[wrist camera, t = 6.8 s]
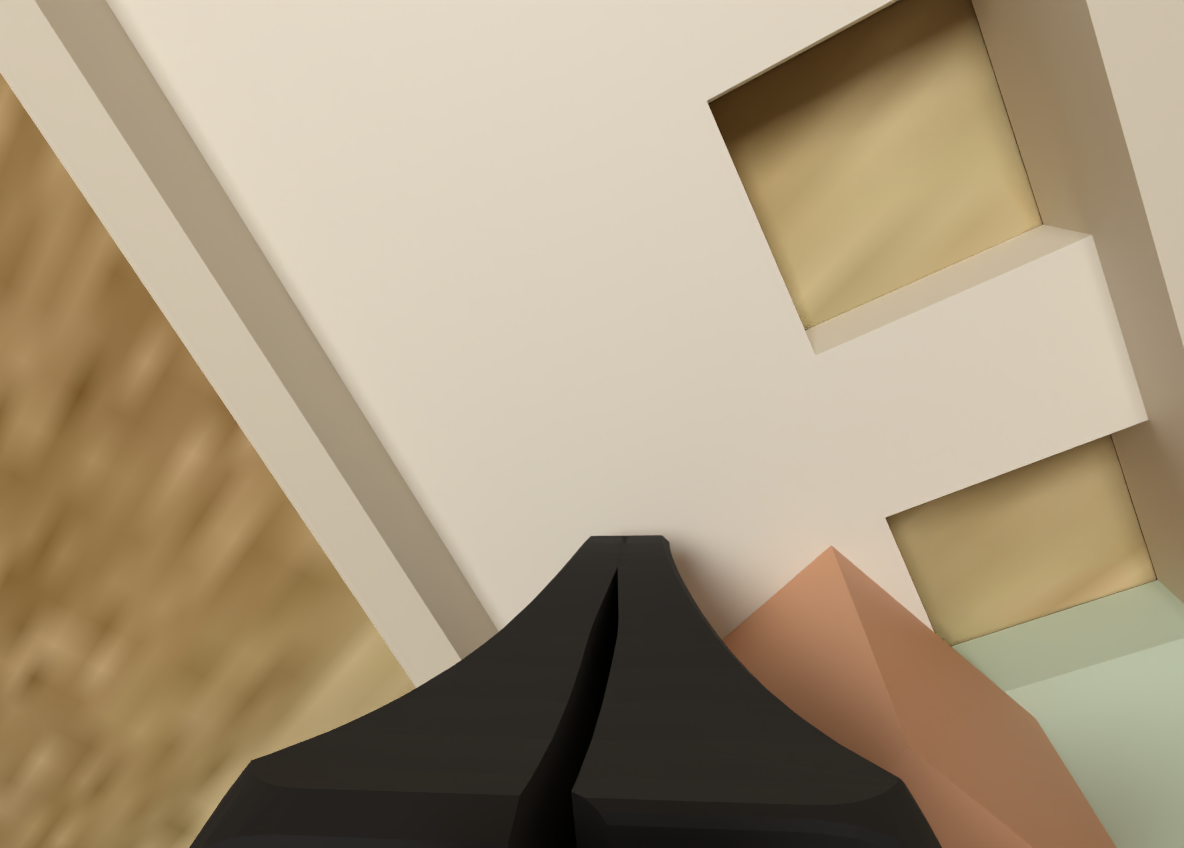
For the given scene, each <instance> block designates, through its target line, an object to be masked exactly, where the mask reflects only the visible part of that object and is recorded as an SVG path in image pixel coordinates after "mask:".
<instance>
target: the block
mask: <svg viewBox="0 0 1184 848" xmlns="http://www.w3.org/2000/svg"><path fill="white" fill-rule="evenodd" d="M722 641H723V642H724V643H725V645H726V646H727V647H728V648H729V649H730V651H731V652H732V653H733V654H734V655H735V656H736V657H737V659H738V660H739V661H740V662H741V663H742V664H743V665H744V666H745V667H746V668H747V670H748V671H749V672H750V673H751V674H752V675H753V676H754V677H755V678H756V679H757V680H758V681H759V682H760V683H761V684H762V685H763V686H764V687H765V688H766V689H768V690H769V691H770V692H771V693H772V694H774V695H775V696H776V697H777V698H778V699H779V700H781V701H782V702H783V703H784V704H785V705H787V706H788V707H789V708H790V709H791V710H793V711H794V712H795V713H796V714H797V715H799V716H800V717H801V718H803V719H804V720H806V721H807V722H808V723H810V724H811V725H813V726H814V727H816V728H817V729H818V730H820V731H821V732H823V733H824V734H826V735H827V736H829V737H830V738H831V739H833V740H834V741H836V742H838V743H839V744H841V745H842V746H844V747H846V748H848V749H849V750H851V751H853V752H855V753H856V754H858V755H860V756H862V757H863V758H865V759H867V760H869V761H870V762H872V763H874V764H876V765H877V766H879V767H881V768H883V769H885V770H886V771H888V772H890V773H892V774H893V775H895V776H897V777H899V778H900V779H901V780H902V781H903V782H904V783H905V784H906V786H907V788H908V789H909V791H910V793H911V794H912V796H913V797H914V799H915V801H916V802H917V804H918V806H919V807H920V809H921V811H922V812H923V814H924V816H925V818H926V819H927V821H928V823H929V824H930V826H931V828H932V830H933V832H934V834H935V836H936V837H937V839H938V841H939V843H940V845H941V847H942V848H1117V847H1116V846H1115V844H1114V842H1113V841H1112V839H1111V838H1110V836H1109V835H1108V833H1107V831H1106V830H1105V828H1104V827H1103V825H1102V823H1101V822H1100V820H1099V819H1098V817H1097V815H1096V814H1095V812H1094V811H1093V809H1092V807H1091V806H1090V804H1089V803H1088V801H1087V799H1086V798H1085V796H1084V795H1083V793H1082V791H1081V790H1080V788H1079V787H1078V785H1077V783H1076V782H1075V780H1074V779H1073V777H1072V775H1071V774H1070V772H1069V771H1068V769H1067V767H1066V766H1065V764H1064V763H1063V761H1062V760H1061V758H1060V756H1059V755H1058V753H1057V752H1056V750H1055V748H1054V747H1053V745H1052V744H1051V742H1050V740H1049V739H1048V737H1047V736H1046V734H1045V732H1044V731H1043V729H1042V728H1041V726H1040V724H1039V723H1038V721H1037V720H1036V718H1035V717H1034V716H1032V715H1031V714H1030V713H1029V712H1028V711H1026V710H1025V709H1024V708H1023V707H1022V706H1021V705H1019V704H1018V703H1017V702H1016V701H1015V700H1013V699H1012V698H1011V697H1010V696H1009V695H1008V694H1006V693H1005V692H1004V691H1003V690H1002V689H1000V688H999V687H998V686H997V685H996V684H995V683H993V682H992V681H991V680H990V679H989V678H987V677H986V676H985V675H984V674H983V673H982V672H980V671H979V670H978V669H977V668H976V667H974V666H973V665H972V664H971V663H970V662H969V661H967V660H966V659H965V658H964V657H963V656H961V655H960V654H959V653H958V652H957V651H956V650H954V649H953V648H952V647H951V646H950V645H948V644H947V643H946V642H945V641H944V640H943V639H941V638H940V637H939V636H938V635H937V634H935V633H934V632H933V631H932V630H931V629H930V628H928V627H927V626H926V625H925V624H924V623H922V622H921V621H920V620H919V619H918V618H917V617H915V616H914V615H913V614H912V613H911V612H909V611H908V610H907V609H906V608H905V607H904V606H902V605H901V604H900V603H899V602H898V601H897V600H895V599H894V598H893V597H892V596H891V595H889V594H888V593H887V592H886V591H885V590H884V589H882V588H881V587H880V586H879V585H878V584H876V583H875V582H874V581H873V580H872V579H871V578H869V577H868V576H867V575H866V574H865V573H863V572H862V571H861V570H860V569H859V568H858V567H856V566H855V565H854V564H853V563H852V562H850V561H849V560H848V559H847V558H846V557H845V556H843V555H842V554H841V553H840V552H839V551H837V550H836V549H835V548H834V547H833V546H832V545H831V546H830V547H829V548H827V549H826V550H825V551H824V552H823V553H822V554H821V555H819V556H818V557H817V558H816V559H815V560H814V561H812V562H811V563H810V564H809V565H808V566H807V567H806V568H804V569H803V570H802V571H801V572H800V573H799V574H797V575H796V576H795V577H794V578H793V579H792V580H791V581H789V582H788V583H787V584H786V585H785V586H784V587H783V588H781V589H780V590H779V591H778V592H777V593H776V594H774V595H773V596H772V597H771V598H770V599H769V600H768V601H766V602H765V603H764V604H763V605H762V606H761V607H759V608H758V609H757V610H756V611H755V612H754V613H753V614H751V615H750V616H749V617H748V618H747V619H746V620H744V621H743V622H742V623H741V624H740V625H739V626H738V627H736V628H735V629H734V630H733V631H732V632H731V633H729V634H728V635H727V636H726V637H725V638H724V639H723V640H722Z"/></svg>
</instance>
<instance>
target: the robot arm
mask: <svg viewBox="0 0 1184 848" xmlns="http://www.w3.org/2000/svg"><path fill="white" fill-rule="evenodd" d="M190 848H942V847H941V845H940V843H939V841H938V839H937V837H936V836H935V834H934V832H933V830H932V828H931V826H930V824H929V823H928V821H927V819H926V818H925V816H924V814H923V812H922V811H921V809H920V807H919V806H918V804H917V802H916V801H915V799H914V797H913V796H912V794H911V793H910V791H909V789H908V788H907V786H906V784H905V783H904V782H903V781H902V780H901V779H900V778H899V777H897V776H895V775H893V774H892V773H890V772H888V771H886V770H885V769H883V768H881V767H879V766H877V765H876V764H874V763H872V762H870V761H869V760H867V759H865V758H863V757H862V756H860V755H858V754H856V753H855V752H853V751H851V750H849V749H848V748H846V747H844V746H842V745H841V744H839V743H838V742H836V741H834V740H833V739H831V738H830V737H829V736H827V735H826V734H824V733H823V732H821V731H820V730H818V729H817V728H816V727H814V726H813V725H811V724H810V723H808V722H807V721H806V720H804V719H803V718H801V717H800V716H799V715H797V714H796V713H795V712H794V711H793V710H791V709H790V708H789V707H788V706H787V705H785V704H784V703H783V702H782V701H781V700H779V699H778V698H777V697H776V696H775V695H774V694H772V693H771V692H770V691H769V690H768V689H766V688H765V687H764V686H763V685H762V684H761V683H760V682H759V681H758V680H757V679H756V678H755V677H754V676H753V675H752V674H751V673H750V672H749V671H748V670H747V668H746V667H745V666H744V665H743V664H742V663H741V662H740V661H739V660H738V659H737V657H736V656H735V655H734V654H733V653H732V652H731V651H730V649H729V648H728V647H727V646H726V645H725V643H724V642H723V641H722V639H721V638H720V637H719V636H718V634H717V633H716V632H715V630H714V629H713V627H712V626H711V625H710V623H709V622H708V621H707V619H706V618H705V616H704V615H703V613H702V612H701V610H700V609H699V607H698V606H697V604H696V602H695V600H694V599H693V597H692V595H691V594H690V592H689V590H688V589H687V587H686V585H685V583H684V581H683V579H682V578H681V576H680V573H679V571H678V569H677V567H676V565H675V562H674V560H673V557H672V554H671V550H670V545H669V541H668V540H667V539H666V538H665V537H664V536H662V535H631V536H590V537H589V538H588V539H587V540H586V541H585V542H584V543H583V545H582V546H581V547H580V548H579V549H578V550H577V552H576V553H575V554H574V555H573V556H572V558H571V559H570V560H569V561H568V562H567V563H566V565H565V566H564V567H563V568H562V569H561V570H560V571H559V573H558V574H557V575H556V576H555V577H554V578H553V579H552V580H551V581H550V582H549V583H548V585H547V586H546V587H545V588H544V589H543V590H542V591H541V592H540V593H539V594H538V595H537V596H536V597H535V598H534V599H533V600H532V601H531V602H530V603H529V604H528V605H527V606H526V607H525V608H524V609H523V610H522V611H521V612H520V613H519V614H518V615H517V616H516V617H515V618H513V619H512V620H511V621H510V622H509V623H508V624H507V625H506V626H505V627H504V628H503V629H501V630H500V631H499V632H498V633H497V634H495V635H494V636H493V637H492V638H490V639H489V640H488V641H487V642H485V643H484V644H483V645H481V646H480V647H479V648H477V649H476V650H474V651H473V652H472V653H470V654H469V655H468V656H466V657H465V658H464V659H462V660H461V661H459V662H458V663H456V664H455V665H453V666H452V667H450V668H449V669H447V670H445V671H444V672H442V673H440V674H439V675H437V676H435V677H434V678H432V679H430V680H429V681H427V682H426V683H424V684H422V685H421V686H419V687H417V688H416V689H414V690H412V691H411V692H409V693H407V694H406V695H404V696H402V697H400V698H398V699H396V700H394V701H392V702H390V703H389V704H387V705H385V706H383V707H381V708H379V709H377V710H375V711H373V712H371V713H369V714H366V715H364V716H362V717H360V718H358V719H356V720H354V721H352V722H349V723H347V724H345V725H343V726H340V727H338V728H336V729H333V730H331V731H329V732H327V733H324V734H321V735H319V736H316V737H313V738H311V739H308V740H306V741H303V742H300V743H298V744H295V745H293V746H290V747H287V748H285V749H282V750H279V751H277V752H274V753H272V754H269V755H266V756H263V757H260V758H257V759H254V760H252V761H251V762H250V763H249V764H248V766H247V767H246V768H245V770H244V771H243V772H242V773H241V775H240V776H239V777H238V779H237V780H236V781H235V783H234V784H233V785H232V787H231V788H230V789H229V791H228V792H227V793H226V795H225V796H224V797H223V799H222V800H221V802H220V803H219V805H218V806H217V808H216V809H215V811H214V812H213V814H212V815H211V817H210V818H209V820H208V821H207V822H206V824H205V825H204V827H203V828H202V830H201V831H200V833H199V834H198V836H197V837H196V839H195V840H194V842H193V843H192V845H191V846H190Z"/></svg>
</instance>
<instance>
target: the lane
mask: <svg viewBox="0 0 1184 848" xmlns="http://www.w3.org/2000/svg"><path fill="white" fill-rule="evenodd" d="M897 1H899V0H0V73H1V74H2V76H3V77H4V79H5V80H6V81H7V83H8V84H9V86H10V87H11V89H12V90H13V92H14V93H15V95H16V96H17V98H18V99H19V101H20V102H21V104H22V105H23V107H24V108H25V110H26V111H27V113H28V114H29V115H30V117H31V118H32V120H33V121H34V123H35V124H36V126H37V127H38V129H39V130H40V132H41V133H42V135H43V136H44V138H45V139H46V141H47V142H48V144H49V145H50V147H51V148H52V150H53V151H54V152H55V154H56V155H57V157H58V158H59V160H60V161H61V163H62V164H63V166H64V167H65V169H66V170H67V172H68V173H69V175H70V176H71V178H72V179H73V181H74V182H75V184H76V185H77V187H78V188H79V189H80V191H81V192H82V194H83V195H84V197H85V198H86V200H87V201H88V203H89V204H90V206H91V207H92V209H93V210H94V212H95V213H96V215H97V216H98V218H99V219H100V221H101V222H102V224H103V225H104V226H105V228H106V229H107V231H108V232H109V234H110V235H111V237H112V238H113V240H114V241H115V243H116V244H117V246H118V247H119V249H120V250H121V252H122V253H123V255H124V256H125V258H126V259H127V261H128V262H129V263H130V265H131V266H132V268H133V269H134V271H135V272H136V274H137V275H138V277H139V278H140V280H141V281H142V283H143V284H144V286H145V287H146V289H147V290H148V292H149V293H150V295H151V296H152V298H153V299H154V300H155V302H156V303H157V305H158V306H159V308H160V309H161V311H162V312H163V314H164V315H165V317H166V318H167V320H168V321H169V323H170V324H171V326H172V327H173V329H174V330H175V332H176V333H177V334H178V336H179V337H180V339H181V340H182V342H183V343H184V345H185V346H186V348H187V349H188V351H189V352H190V354H191V355H192V357H193V358H194V360H195V361H196V363H197V364H198V366H199V367H200V369H201V370H202V371H203V373H204V374H205V376H206V377H207V379H208V380H209V382H210V383H211V385H212V386H213V388H214V389H215V391H216V392H217V394H218V395H219V397H220V398H221V400H222V401H223V403H224V404H225V406H226V407H227V408H228V410H229V411H230V413H231V414H232V416H233V417H234V419H235V420H236V422H237V423H238V425H239V426H240V428H241V429H242V431H243V432H244V434H245V435H246V437H247V438H248V440H249V441H250V443H251V444H252V445H253V447H254V448H255V450H256V451H257V453H258V454H259V456H260V457H261V459H262V460H263V462H264V463H265V465H266V466H267V468H268V469H269V471H270V472H271V474H272V475H273V477H274V478H275V480H276V481H277V482H278V484H279V485H280V487H281V488H282V490H283V491H284V493H285V494H286V496H287V497H288V499H289V500H290V502H291V503H292V505H293V506H294V508H295V509H296V511H297V512H298V514H299V515H300V517H301V518H302V519H303V521H304V522H305V524H306V525H307V527H308V528H309V530H310V531H311V533H312V534H313V536H314V537H315V539H316V540H317V542H318V543H319V545H320V546H321V548H322V549H323V551H324V552H325V553H326V555H327V556H328V558H329V559H330V561H331V562H332V564H333V565H334V567H335V568H336V570H337V571H338V573H339V574H340V576H341V577H342V579H343V580H344V582H345V583H346V585H347V586H348V588H349V589H350V590H351V592H352V593H353V595H354V596H355V598H356V599H357V601H358V602H359V604H360V605H361V607H362V608H363V610H364V611H365V613H366V614H367V616H368V617H369V619H370V620H371V622H372V623H373V625H374V626H375V627H376V629H377V630H378V632H379V633H380V635H381V636H382V638H383V639H384V641H385V642H386V644H387V645H388V647H389V648H390V650H391V651H392V653H393V654H394V656H395V657H396V659H397V660H398V662H399V663H400V664H401V666H402V667H403V669H404V670H405V672H406V673H407V675H408V676H409V678H410V679H411V681H412V682H413V684H414V685H415V687H416V688H417V687H419V686H421V685H422V684H424V683H426V682H427V681H429V680H430V679H432V678H434V677H435V676H437V675H439V674H440V673H442V672H444V671H445V670H447V669H449V668H450V667H452V666H453V665H455V664H456V663H458V662H459V661H461V660H462V659H464V658H465V657H466V656H468V655H469V654H470V653H472V652H473V651H474V650H476V649H477V648H479V647H480V646H481V645H483V644H484V643H485V642H487V641H488V640H489V639H490V638H492V637H493V636H494V635H495V634H497V633H498V632H499V631H500V630H501V629H503V628H504V627H505V626H506V625H507V624H508V623H509V622H510V621H511V620H512V619H513V618H515V617H516V616H517V615H518V614H519V613H520V612H521V611H522V610H523V609H524V608H525V607H526V606H527V605H528V604H529V603H530V602H531V601H532V600H533V599H534V598H535V597H536V596H537V595H538V594H539V593H540V592H541V591H542V590H543V589H544V588H545V587H546V586H547V585H548V583H549V582H550V581H551V580H552V579H553V578H554V577H555V576H556V575H557V574H558V573H559V571H560V570H561V569H562V568H563V567H564V566H565V565H566V563H567V562H568V561H569V560H570V559H571V558H572V556H573V555H574V554H575V553H576V552H577V550H578V549H579V548H580V547H581V546H582V545H583V543H584V542H585V541H586V540H587V539H588V538H589V537H590V536H631V535H662V536H664V537H665V538H666V539H667V540H668V541H669V545H670V550H671V554H672V557H673V560H674V562H675V565H676V567H677V569H678V571H679V573H680V576H681V578H682V579H683V581H684V583H685V585H686V587H687V589H688V590H689V592H690V594H691V595H692V597H693V599H694V600H695V602H696V604H697V606H698V607H699V609H700V610H701V612H702V613H703V615H704V616H705V618H706V619H707V621H708V622H709V623H710V625H711V626H712V627H713V629H714V630H715V632H716V633H717V634H718V636H719V637H720V638H721V639H722V640H723V639H724V638H725V637H726V636H727V635H728V634H729V633H731V632H732V631H733V630H734V629H735V628H736V627H738V626H739V625H740V624H741V623H742V622H743V621H744V620H746V619H747V618H748V617H749V616H750V615H751V614H753V613H754V612H755V611H756V610H757V609H758V608H759V607H761V606H762V605H763V604H764V603H765V602H766V601H768V600H769V599H770V598H771V597H772V596H773V595H774V594H776V593H777V592H778V591H779V590H780V589H781V588H783V587H784V586H785V585H786V584H787V583H788V582H789V581H791V580H792V579H793V578H794V577H795V576H796V575H797V574H799V573H800V572H801V571H802V570H803V569H804V568H806V567H807V566H808V565H809V564H810V563H811V562H812V561H814V560H815V559H816V558H817V557H818V556H819V555H821V554H822V553H823V552H824V551H825V550H826V549H827V548H829V547H830V546H831V545H832V546H833V547H834V548H835V549H836V550H837V551H839V552H840V553H841V554H842V555H843V556H845V557H846V558H847V559H848V560H849V561H850V562H852V563H853V564H854V565H855V566H856V567H858V568H859V569H860V570H861V571H862V572H863V573H865V574H866V575H867V576H868V577H869V578H871V579H872V580H873V581H874V582H875V583H876V584H878V585H879V586H880V587H881V588H882V589H884V590H885V591H886V592H887V593H888V594H889V595H891V596H892V597H893V598H894V599H895V600H897V601H898V602H899V603H900V604H901V605H902V606H904V607H905V608H906V609H907V610H908V611H909V612H911V613H912V614H913V615H914V616H915V617H917V618H918V619H919V620H920V621H921V622H922V623H924V624H925V625H926V626H927V627H928V628H930V629H931V630H932V631H933V628H932V626H931V624H930V621H929V619H928V617H927V614H926V612H925V610H924V607H923V605H922V603H921V600H920V598H919V596H918V593H917V591H916V589H915V586H914V584H913V582H912V579H911V577H910V575H909V572H908V570H907V568H906V565H905V563H904V561H903V558H902V556H901V554H900V551H899V549H898V547H897V544H896V542H895V540H894V537H893V535H892V533H891V530H890V528H889V526H888V523H887V521H886V519H885V517H888V516H891V515H893V514H896V513H899V512H901V511H904V510H907V509H910V508H912V507H915V506H918V505H920V504H923V503H926V502H928V501H931V500H934V499H936V498H939V497H942V496H945V495H947V494H950V493H953V492H955V491H958V490H961V489H963V488H966V487H969V486H971V485H974V484H977V483H980V482H982V481H985V480H988V479H990V478H993V477H996V476H998V475H1001V474H1004V473H1006V472H1009V471H1012V470H1015V469H1017V468H1020V467H1023V466H1025V465H1028V464H1031V463H1033V462H1036V461H1039V460H1042V459H1044V458H1047V457H1050V456H1052V455H1055V454H1058V453H1060V452H1063V451H1066V450H1068V449H1071V448H1074V447H1077V446H1079V445H1082V444H1085V443H1087V442H1090V441H1093V440H1095V439H1098V438H1101V437H1103V436H1106V435H1109V434H1111V436H1112V439H1113V443H1114V446H1115V449H1116V452H1117V455H1118V458H1119V461H1120V464H1121V467H1122V471H1123V474H1124V477H1125V480H1126V483H1127V486H1128V489H1129V492H1130V495H1131V499H1132V502H1133V505H1134V508H1135V511H1136V514H1137V517H1138V520H1139V523H1140V527H1141V530H1142V533H1143V536H1144V539H1145V542H1146V545H1147V548H1148V551H1149V555H1150V558H1151V561H1152V564H1153V567H1154V570H1155V573H1156V576H1157V579H1158V580H1156V581H1153V582H1150V583H1147V584H1144V585H1141V586H1138V587H1134V588H1131V589H1128V590H1125V591H1122V592H1119V593H1116V594H1113V595H1110V596H1106V597H1103V598H1100V599H1097V600H1094V601H1091V602H1088V603H1085V604H1082V605H1078V606H1075V607H1072V608H1069V609H1066V610H1063V611H1060V612H1057V613H1054V614H1050V615H1047V616H1044V617H1041V618H1038V619H1035V620H1032V621H1029V622H1026V623H1022V624H1019V625H1016V626H1013V627H1010V628H1007V629H1004V630H1001V631H998V632H994V633H991V634H988V635H985V636H982V637H979V638H976V639H973V640H970V641H966V642H963V643H960V644H957V645H954V646H951V647H952V648H953V649H954V650H956V651H957V652H958V653H959V654H960V655H961V656H963V657H964V658H965V659H966V660H967V661H969V662H970V663H971V664H972V665H973V666H974V667H976V668H977V669H978V670H979V671H980V672H982V673H983V674H984V675H985V676H986V677H987V678H989V679H990V680H991V681H992V682H993V683H995V684H996V685H997V686H998V687H999V688H1000V689H1002V690H1003V691H1004V692H1005V693H1006V694H1008V695H1009V696H1010V697H1011V698H1012V699H1013V700H1015V701H1016V702H1017V703H1018V704H1019V705H1021V706H1022V707H1023V708H1024V709H1025V710H1026V711H1028V712H1029V713H1030V714H1031V715H1032V716H1034V717H1035V718H1036V720H1037V721H1038V723H1039V724H1040V726H1041V728H1042V729H1043V731H1044V732H1045V734H1046V736H1047V737H1048V739H1049V740H1050V742H1051V744H1052V745H1053V747H1054V748H1055V750H1056V752H1057V753H1058V755H1059V756H1060V758H1061V760H1062V761H1063V763H1064V764H1065V766H1066V767H1067V769H1068V771H1069V772H1070V774H1071V775H1072V777H1073V779H1074V780H1075V782H1076V783H1077V785H1078V787H1079V788H1080V790H1081V791H1082V793H1083V795H1084V796H1085V798H1086V799H1087V801H1088V803H1089V804H1090V806H1091V807H1092V809H1093V811H1094V812H1095V814H1096V815H1097V817H1098V819H1099V820H1100V822H1101V823H1102V825H1103V827H1104V828H1105V830H1106V831H1107V833H1108V835H1109V836H1110V838H1111V839H1112V841H1113V842H1114V844H1115V846H1116V847H1117V848H1184V0H971V1H972V4H973V7H974V10H975V13H976V16H977V19H978V22H979V26H980V29H981V32H982V35H983V38H984V41H985V44H986V47H987V50H988V54H989V57H990V60H991V63H992V66H993V69H994V72H995V75H996V78H997V82H998V85H999V88H1000V91H1001V94H1002V97H1003V100H1004V103H1005V106H1006V110H1007V113H1008V116H1009V119H1010V122H1011V125H1012V128H1013V131H1014V134H1015V138H1016V141H1017V144H1018V147H1019V150H1020V153H1021V156H1022V159H1023V162H1024V166H1025V169H1026V172H1027V175H1028V178H1029V181H1030V184H1031V187H1032V190H1033V194H1034V197H1035V200H1036V203H1037V206H1038V209H1039V212H1040V215H1041V218H1042V222H1043V225H1041V226H1039V227H1036V228H1034V229H1032V230H1030V231H1027V232H1025V233H1023V234H1021V235H1018V236H1016V237H1014V238H1012V239H1009V240H1007V241H1005V242H1003V243H1000V244H998V245H996V246H994V247H992V248H989V249H987V250H985V251H983V252H980V253H978V254H976V255H974V256H971V257H969V258H967V259H965V260H962V261H960V262H958V263H956V264H953V265H951V266H949V267H947V268H944V269H942V270H940V271H938V272H935V273H933V274H931V275H929V276H926V277H924V278H922V279H920V280H917V281H915V282H913V283H911V284H908V285H906V286H904V287H902V288H899V289H897V290H895V291H893V292H890V293H888V294H886V295H884V296H881V297H879V298H877V299H875V300H872V301H870V302H868V303H866V304H863V305H861V306H859V307H857V308H854V309H852V310H850V311H848V312H846V313H843V314H841V315H839V316H837V317H834V318H832V319H830V320H828V321H825V322H823V323H821V324H819V325H816V326H814V327H812V328H810V329H807V330H805V329H804V327H803V325H802V322H801V320H800V318H799V315H798V313H797V311H796V308H795V306H794V304H793V301H792V299H791V297H790V294H789V292H788V290H787V287H786V285H785V283H784V280H783V278H782V276H781V273H780V271H779V269H778V266H777V264H776V262H775V259H774V257H773V255H772V252H771V250H770V248H769V245H768V243H767V241H766V238H765V236H764V234H763V231H762V229H761V227H760V224H759V222H758V220H757V217H756V215H755V213H754V210H753V208H752V206H751V203H750V201H749V199H748V196H747V194H746V192H745V189H744V187H743V185H742V182H741V180H740V178H739V175H738V173H737V171H736V168H735V166H734V164H733V161H732V159H731V157H730V154H729V152H728V150H727V147H726V145H725V143H724V140H723V138H722V136H721V133H720V131H719V129H718V126H717V124H716V122H715V119H714V117H713V115H712V112H711V110H710V108H709V105H708V103H710V102H712V101H714V100H715V99H717V98H719V97H721V96H723V95H725V94H727V93H728V92H730V91H732V90H734V89H736V88H738V87H739V86H741V85H743V84H745V83H747V82H749V81H751V80H752V79H754V78H756V77H758V76H760V75H762V74H764V73H765V72H767V71H769V70H771V69H773V68H775V67H776V66H778V65H780V64H782V63H784V62H786V61H788V60H789V59H791V58H793V57H795V56H797V55H799V54H801V53H802V52H804V51H806V50H808V49H810V48H812V47H813V46H815V45H817V44H819V43H821V42H823V41H825V40H826V39H828V38H830V37H832V36H834V35H836V34H838V33H839V32H841V31H843V30H845V29H847V28H849V27H850V26H852V25H854V24H856V23H858V22H860V21H862V20H863V19H865V18H867V17H869V16H871V15H873V14H875V13H876V12H878V11H880V10H882V9H884V8H886V7H887V6H889V5H891V4H893V3H895V2H897ZM933 632H934V631H933Z"/></svg>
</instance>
